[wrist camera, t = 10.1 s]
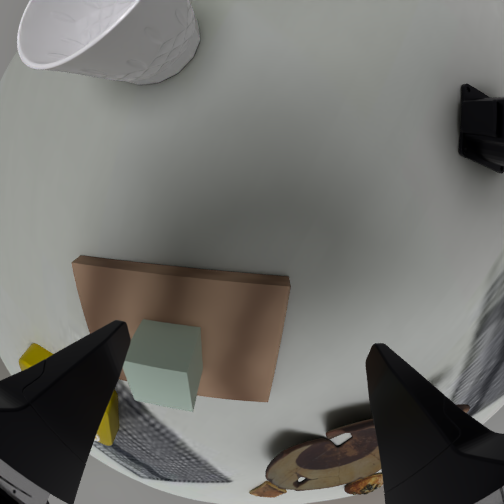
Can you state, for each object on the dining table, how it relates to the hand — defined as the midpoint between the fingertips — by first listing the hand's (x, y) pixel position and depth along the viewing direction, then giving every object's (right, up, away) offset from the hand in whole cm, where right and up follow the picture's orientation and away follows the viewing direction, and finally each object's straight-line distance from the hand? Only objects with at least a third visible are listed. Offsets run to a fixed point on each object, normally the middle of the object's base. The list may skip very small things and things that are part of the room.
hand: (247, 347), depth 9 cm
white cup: (-7, +18, +5) cm, 20 cm away
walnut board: (-7, -4, +14) cm, 16 cm away
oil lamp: (+16, -24, +22) cm, 36 cm away
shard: (+3, -48, +34) cm, 59 cm away
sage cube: (-7, -5, +13) cm, 15 cm away
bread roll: (+28, -52, +34) cm, 68 cm away
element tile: (-26, -17, +21) cm, 38 cm away
